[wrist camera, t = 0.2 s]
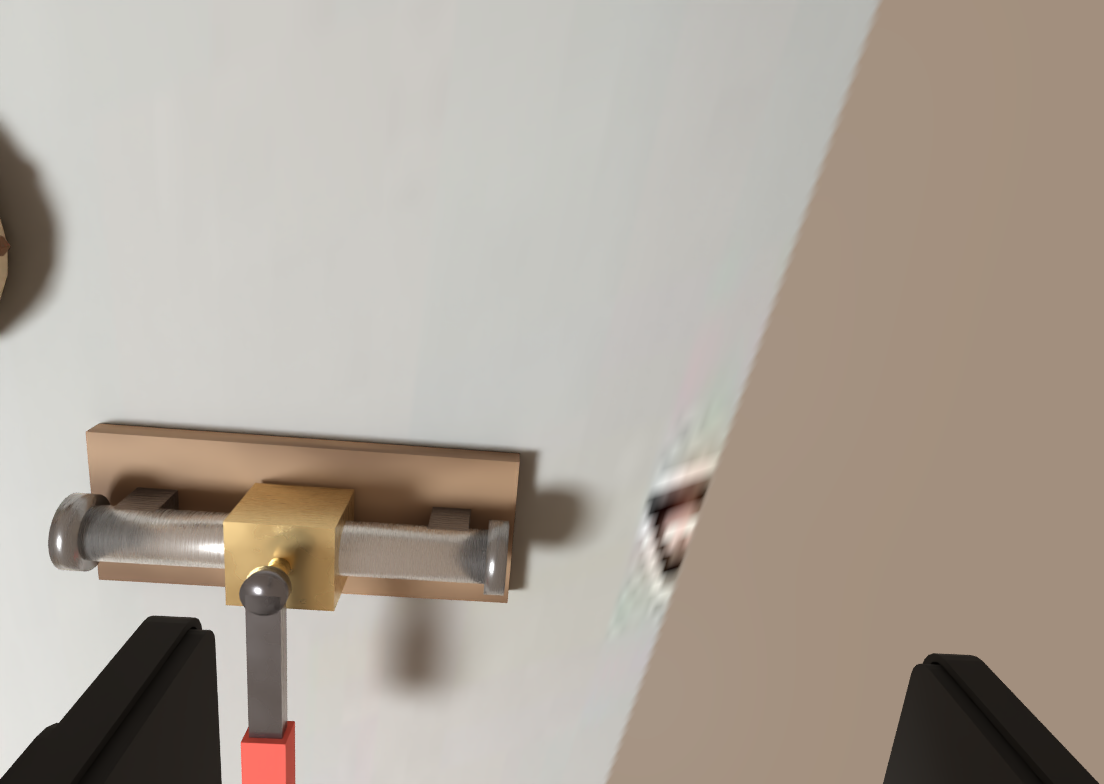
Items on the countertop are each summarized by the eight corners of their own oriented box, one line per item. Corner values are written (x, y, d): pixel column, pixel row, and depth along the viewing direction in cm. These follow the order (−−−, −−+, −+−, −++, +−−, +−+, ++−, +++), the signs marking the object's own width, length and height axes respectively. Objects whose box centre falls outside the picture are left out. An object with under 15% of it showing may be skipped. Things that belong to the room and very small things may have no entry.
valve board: (99, 423, 46) (8, 479, 38) (519, 453, 48) (519, 513, 40) (111, 567, 49) (29, 648, 41) (507, 590, 51) (505, 672, 43)
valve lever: (247, 560, 40) (235, 578, 38) (293, 563, 40) (283, 581, 38) (253, 789, 44) (243, 815, 42) (295, 791, 44) (286, 816, 43)
